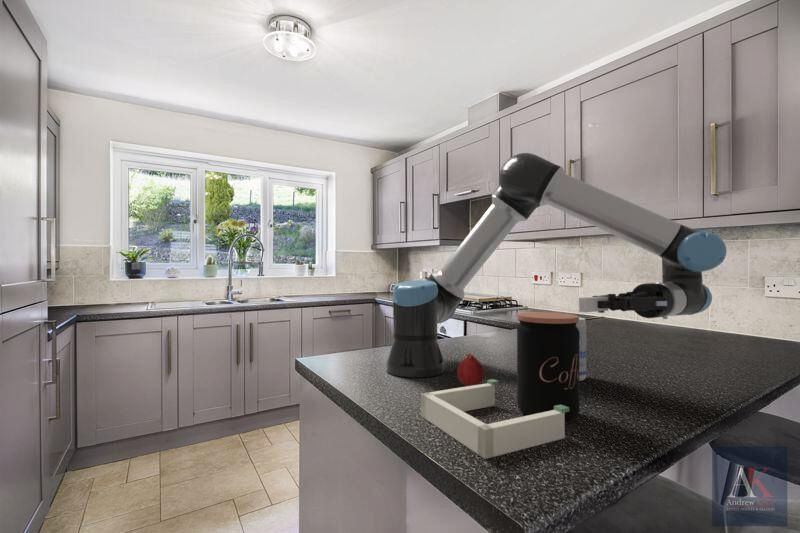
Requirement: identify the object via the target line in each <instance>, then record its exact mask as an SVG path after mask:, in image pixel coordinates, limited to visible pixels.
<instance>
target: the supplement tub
mask: <svg viewBox="0 0 800 533" xmlns="http://www.w3.org/2000/svg"><path fill="white" fill-rule="evenodd" d="M586 320H587V319H586V318H584V317H580V316H579V321H578V322H577V324H576V327H577V328H578V330H579V382H582V381H584V380H585V379H586V378H587V321H586Z"/></svg>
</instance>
